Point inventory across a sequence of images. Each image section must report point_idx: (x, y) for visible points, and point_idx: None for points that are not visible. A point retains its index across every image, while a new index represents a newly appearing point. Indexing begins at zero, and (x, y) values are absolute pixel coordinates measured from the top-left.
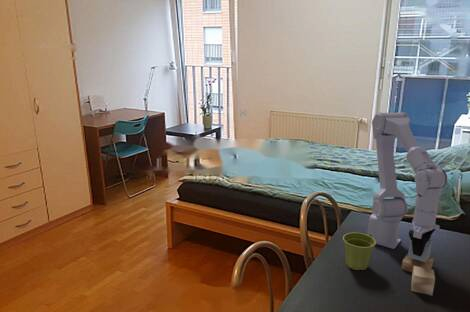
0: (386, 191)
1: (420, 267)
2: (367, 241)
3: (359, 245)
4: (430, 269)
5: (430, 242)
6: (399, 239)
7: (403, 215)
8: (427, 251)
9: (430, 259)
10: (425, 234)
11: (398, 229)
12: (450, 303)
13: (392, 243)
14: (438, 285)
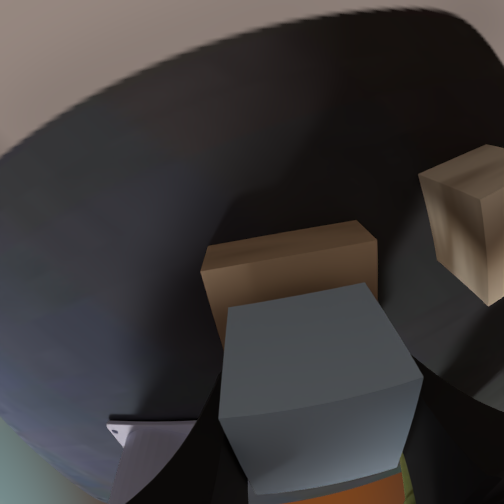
0: None
1: (492, 272)
2: (412, 493)
3: (403, 481)
4: (487, 217)
5: (290, 413)
6: (112, 427)
7: None
8: (402, 344)
9: (220, 284)
10: (230, 494)
11: (139, 486)
12: (484, 65)
13: (183, 440)
14: (391, 142)
